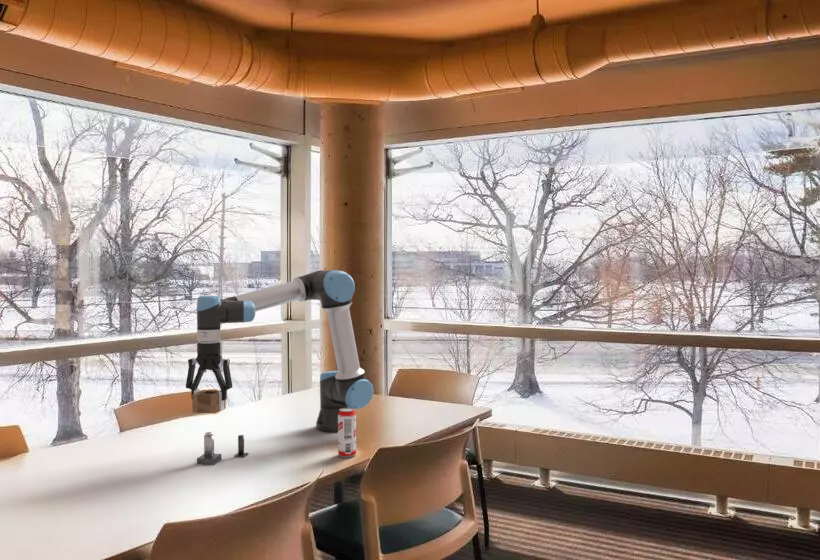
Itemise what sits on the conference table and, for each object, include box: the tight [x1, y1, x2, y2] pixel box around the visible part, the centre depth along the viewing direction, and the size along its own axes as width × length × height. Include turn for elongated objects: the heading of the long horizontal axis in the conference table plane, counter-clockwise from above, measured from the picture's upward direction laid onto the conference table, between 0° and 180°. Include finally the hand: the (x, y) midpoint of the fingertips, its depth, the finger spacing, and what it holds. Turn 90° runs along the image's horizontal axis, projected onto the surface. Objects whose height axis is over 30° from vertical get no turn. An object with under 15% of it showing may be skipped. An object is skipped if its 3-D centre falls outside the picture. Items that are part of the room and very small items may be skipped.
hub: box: [196, 431, 223, 466], centre depth 219 cm, size 6×6×10 cm
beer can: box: [337, 408, 357, 459], centre depth 225 cm, size 6×6×16 cm
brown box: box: [191, 389, 227, 414], centre depth 219 cm, size 8×8×6 cm
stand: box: [233, 434, 249, 458], centre depth 226 cm, size 4×4×7 cm
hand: (209, 409), depth 219 cm, fingers closed on brown box, 8 cm apart
